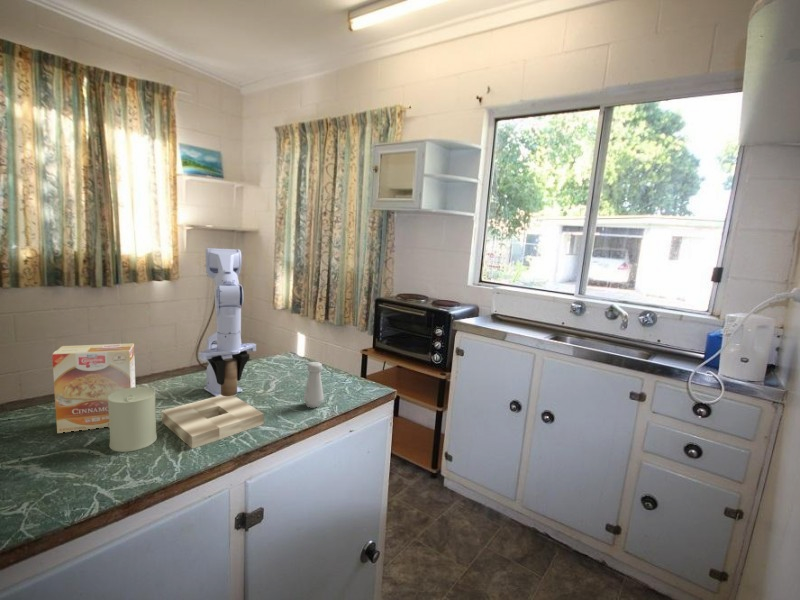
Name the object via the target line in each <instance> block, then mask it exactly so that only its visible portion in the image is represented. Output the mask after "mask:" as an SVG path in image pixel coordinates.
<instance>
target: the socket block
mask: <svg viewBox="0 0 800 600" xmlns="http://www.w3.org/2000/svg"><path fill="white" fill-rule="evenodd" d="M160 414H161V423H162V424H164V425H165V426H166V428H168V429H169V430H170V431H171V432H173V433H174V434H175V435H176V436H177V437H178V438H179V439H181V440H182V441H183V442H184V443H185V444H186V445H187V446H188V447H190V448H191V449H192V450H193V449H197V448H198V447H199V448H200V447H202V446H204V445H207V444H211V443H213V442H217V441H220V440H223V439H225V438H228V437H231V436H233V435H236V434H240V433H243V432H245V431H248V430H251V429H253V428H257V427H259V426H262V425H264V418H265V413H264V412H262V411H260V410H259V409H257V408H255V407H254V406H252V405H250V404H249V403H247V402H245V401H244V400H242V399H240V398H239V397H237V396H235V395H233V396H222V395H220V396H212V397H210V398H205V399H201V400H197V401H193V402H190V403H187V404H186V403H185V404H182V405H179V406H178V405H177V406H175V407H170V408H166V409H163V410H161V413H160Z"/></svg>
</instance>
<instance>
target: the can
mask: <svg viewBox="0 0 800 600" xmlns="http://www.w3.org/2000/svg"><path fill="white" fill-rule="evenodd" d="M156 393H157V391H156V390H155V389H154V388H152V387H147V386H135V387H132V388H126V389H122V390H119V391H116V392H113V393H112V394H110V395H109V396H108V398H107V399H108V408H109V427H108V428H109V444H108V445H109V448H110V449H111V450H112V451H114V452H121V453H122V452H124V453H126V452H134V451H139V450H142V449H144V448H147V447H148V446H149V447H150V446H151V445H152V444H154V443H155V442H156V441H157V439H158V434H157V422H156V421H157V419H156V418H157V414H156Z"/></svg>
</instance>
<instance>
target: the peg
mask: <svg viewBox="0 0 800 600" xmlns="http://www.w3.org/2000/svg"><path fill="white" fill-rule="evenodd" d="M223 360H224V361H226V364H225V369H224V384H223V385H221V395H222V396H233V395H234V396H235V395H237V394H238V393H237V387H238V381H237V359H234V358H227V359H223Z"/></svg>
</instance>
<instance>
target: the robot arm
mask: <svg viewBox="0 0 800 600" xmlns="http://www.w3.org/2000/svg"><path fill="white" fill-rule="evenodd" d="M205 267H206V268H205V269H206V271H205V272H206V274H207V275H206V276H207V277H209V278H211V279H213V282H214V285H215V289H214V305H215V313H216V314H215V315H216V316H215V317H216V320H215V323H216V331H215V332H214V333H212V334H211V335H209V336H208V337H207V339H206V350H203V351H199V352H198V360H200V361H202V362H206V363H207V364H208V365H207V367H206V386H204V387H203V390H204V391H207V392H208V393H210V394H211V395H213V397H216V396H220V395H221V385H223V384H224V369H225V364H226V361H224V360H223V359H227V358H234V359H237V382H239V381H241V378H242V374H243V371H244V369H245V367H246V364H247V363H248V361H249V359H250V353H248V352H257V343H254V342H249V343H242V338H241V337H242V336H241V335H242V308H243V304H244V289H243V285H242V284H240V280H239V276H240V273H241V268H242V251H241V250H240V249H239V248H236V249H234V248H214V247H212V248H210V247H207V248H206V249H205ZM241 392H243V389H242V388H241V387H239V386H237V394H238V393H241Z"/></svg>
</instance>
